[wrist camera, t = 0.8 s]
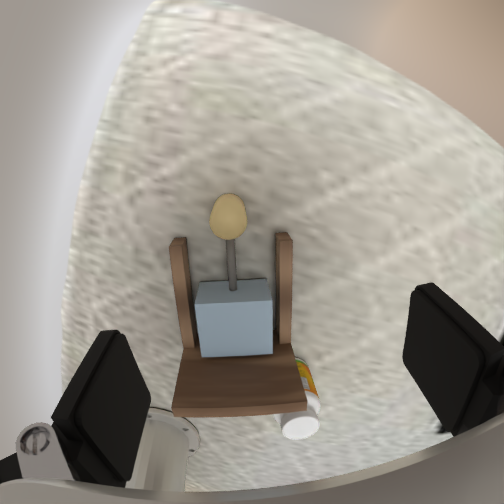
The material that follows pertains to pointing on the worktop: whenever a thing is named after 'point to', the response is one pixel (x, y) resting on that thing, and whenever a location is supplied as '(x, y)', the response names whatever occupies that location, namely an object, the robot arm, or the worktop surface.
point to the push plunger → (233, 296)
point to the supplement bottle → (302, 421)
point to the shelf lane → (236, 367)
